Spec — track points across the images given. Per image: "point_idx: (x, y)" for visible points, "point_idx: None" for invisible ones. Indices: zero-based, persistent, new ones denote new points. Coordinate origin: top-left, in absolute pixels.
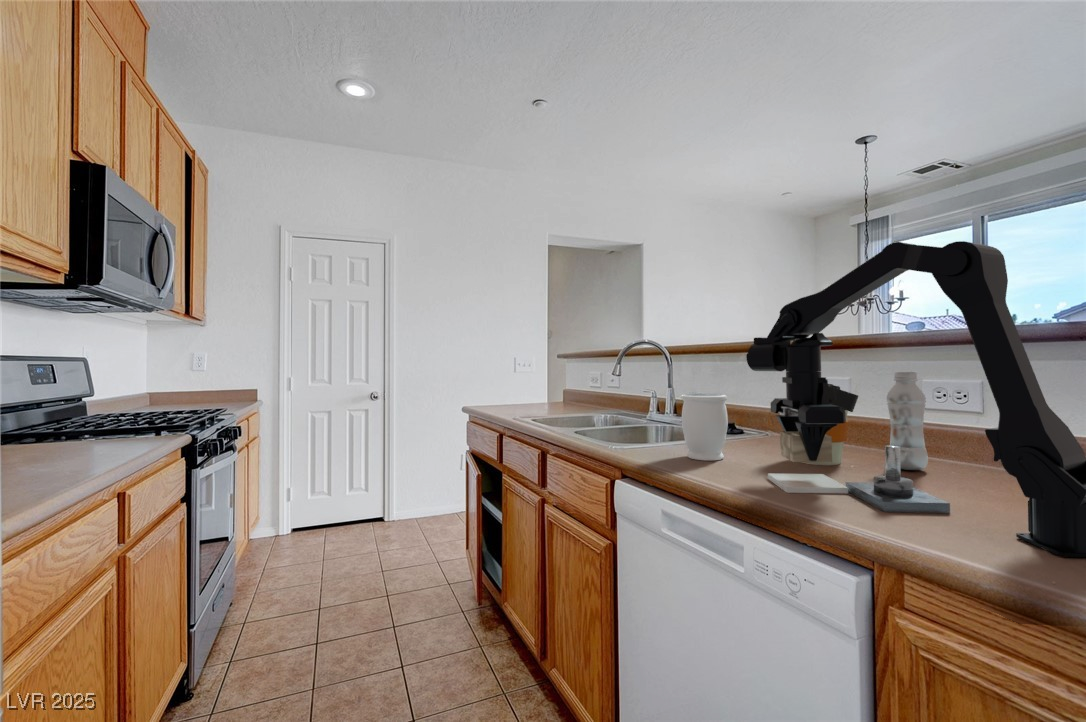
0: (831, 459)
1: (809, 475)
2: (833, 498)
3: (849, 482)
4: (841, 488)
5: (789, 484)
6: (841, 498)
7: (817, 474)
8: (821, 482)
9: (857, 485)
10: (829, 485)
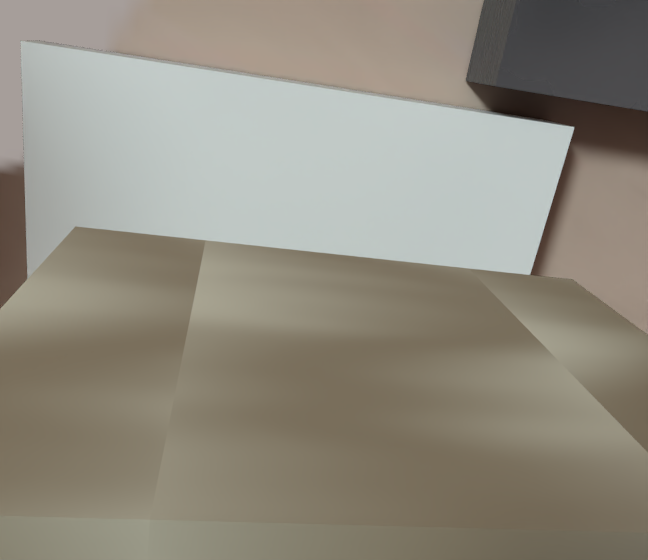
0: (588, 299)
1: (102, 218)
2: (618, 292)
3: (522, 61)
4: (553, 178)
5: None
6: (633, 241)
7: (52, 114)
8: (376, 248)
9: (629, 57)
10: (478, 237)
